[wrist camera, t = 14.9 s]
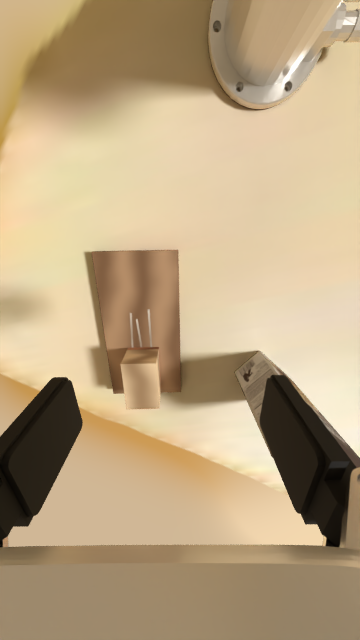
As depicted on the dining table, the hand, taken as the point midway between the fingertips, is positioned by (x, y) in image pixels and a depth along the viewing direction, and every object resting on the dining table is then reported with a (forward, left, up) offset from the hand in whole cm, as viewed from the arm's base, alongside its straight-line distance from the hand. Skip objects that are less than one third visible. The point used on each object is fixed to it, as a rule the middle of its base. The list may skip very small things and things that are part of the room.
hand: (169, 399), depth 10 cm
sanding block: (+5, +12, -22) cm, 26 cm away
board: (+5, +6, -24) cm, 25 cm away
